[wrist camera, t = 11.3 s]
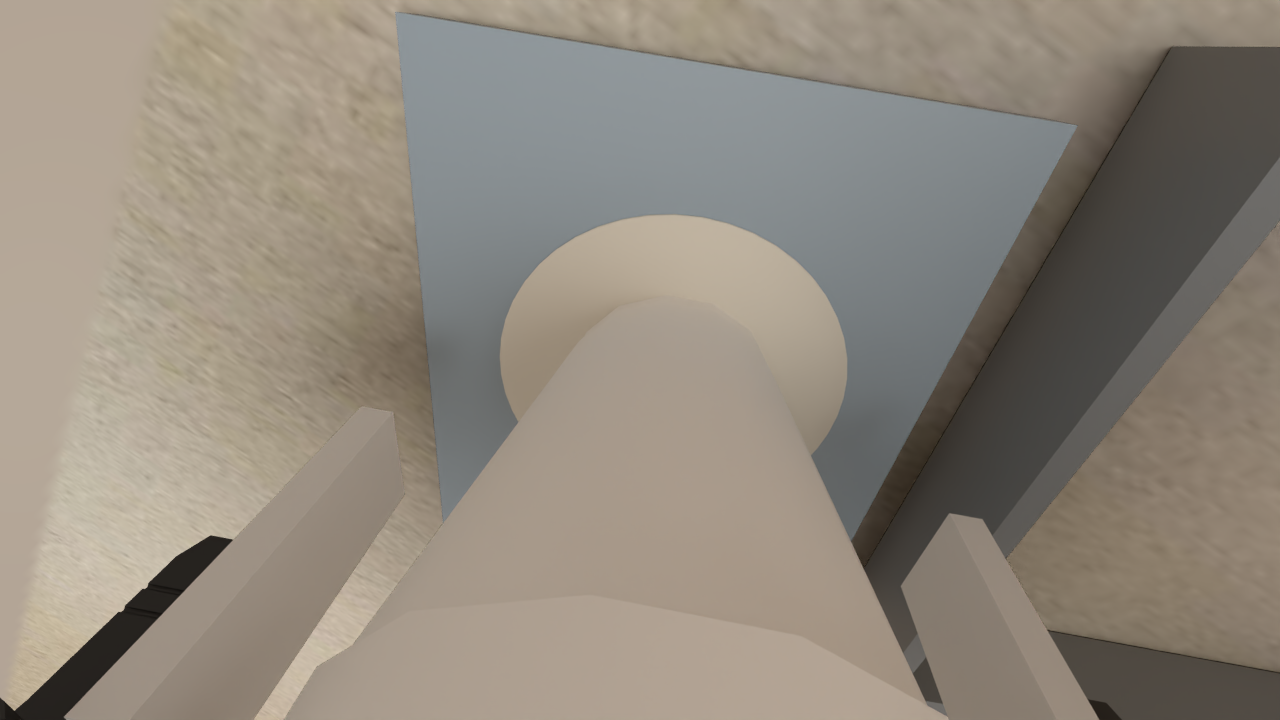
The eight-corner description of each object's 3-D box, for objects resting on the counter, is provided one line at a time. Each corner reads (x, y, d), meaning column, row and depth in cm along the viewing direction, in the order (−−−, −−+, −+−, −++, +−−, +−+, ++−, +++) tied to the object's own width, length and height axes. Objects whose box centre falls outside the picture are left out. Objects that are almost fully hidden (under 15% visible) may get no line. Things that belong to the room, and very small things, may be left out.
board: (817, 573, 22) (822, 598, 21) (453, 507, 22) (441, 528, 22) (1052, 120, 13) (1081, 126, 12) (415, 13, 13) (392, 11, 12)
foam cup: (889, 369, 15) (1349, 1180, 4) (696, 527, 20) (687, 1131, 9) (628, 174, 13) (263, 806, 2) (477, 400, 18) (106, 987, 7)
